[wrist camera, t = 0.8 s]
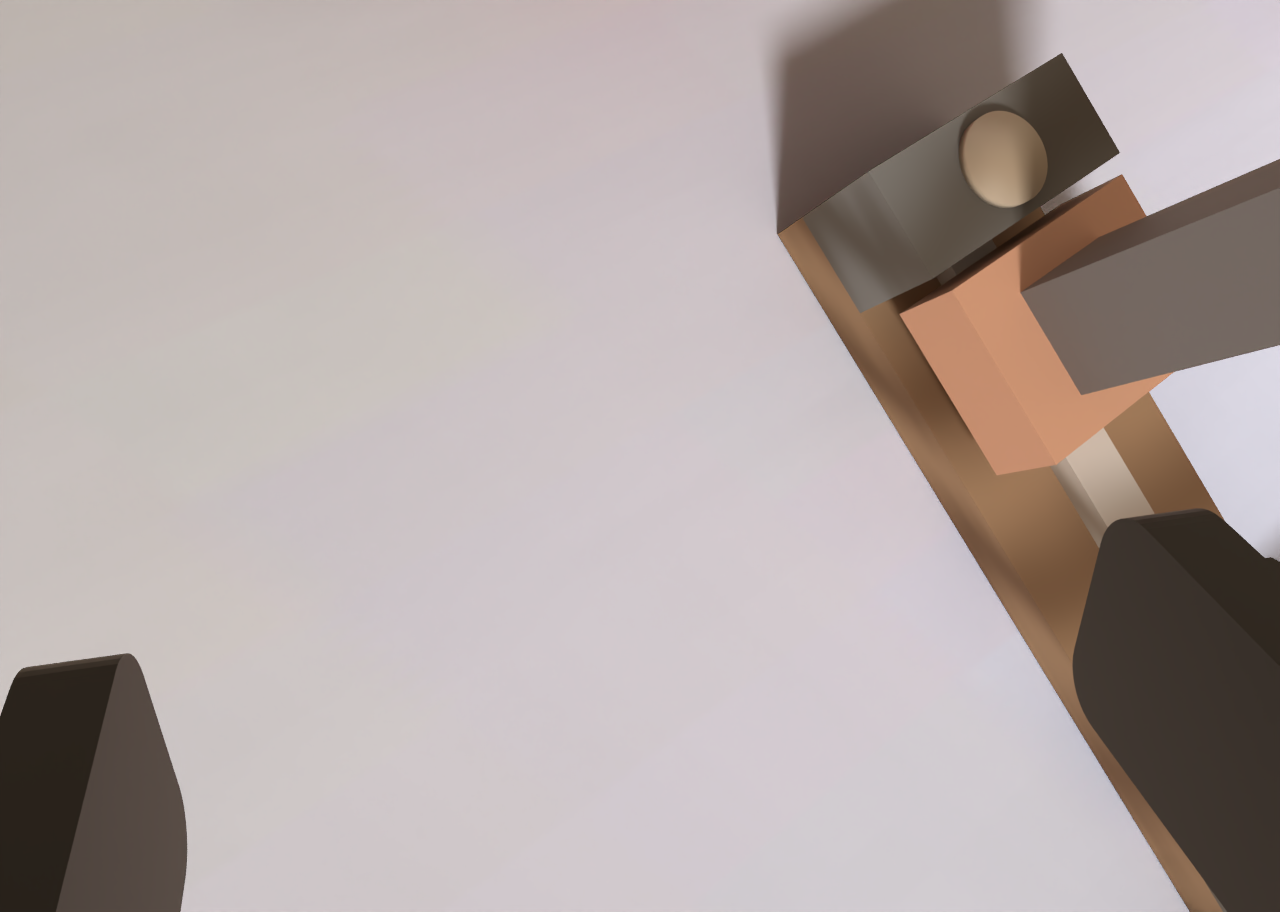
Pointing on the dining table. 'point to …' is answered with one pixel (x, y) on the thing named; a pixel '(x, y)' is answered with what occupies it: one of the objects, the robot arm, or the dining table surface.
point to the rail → (925, 415)
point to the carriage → (1101, 312)
